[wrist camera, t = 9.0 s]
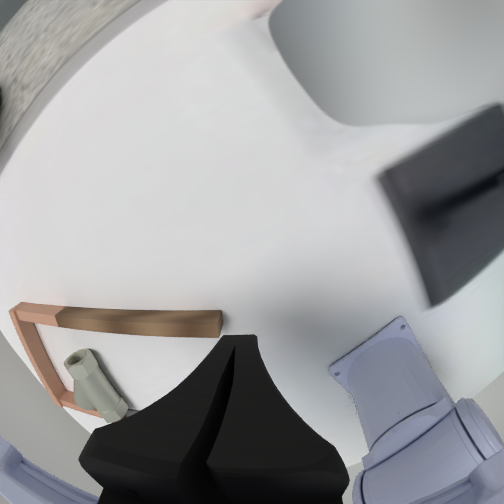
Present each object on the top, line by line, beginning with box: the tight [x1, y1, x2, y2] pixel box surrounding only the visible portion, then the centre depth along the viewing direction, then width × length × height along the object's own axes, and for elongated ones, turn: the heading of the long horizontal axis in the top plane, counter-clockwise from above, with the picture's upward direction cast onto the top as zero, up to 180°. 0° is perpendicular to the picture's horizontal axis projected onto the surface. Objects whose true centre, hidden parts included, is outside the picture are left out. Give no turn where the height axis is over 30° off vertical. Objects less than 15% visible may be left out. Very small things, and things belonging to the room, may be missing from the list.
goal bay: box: [9, 302, 103, 418], centre depth 23 cm, size 9×14×2 cm, turn 4°
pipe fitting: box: [64, 349, 128, 423], centre depth 23 cm, size 8×4×7 cm
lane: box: [55, 307, 223, 423], centre depth 23 cm, size 16×20×2 cm
